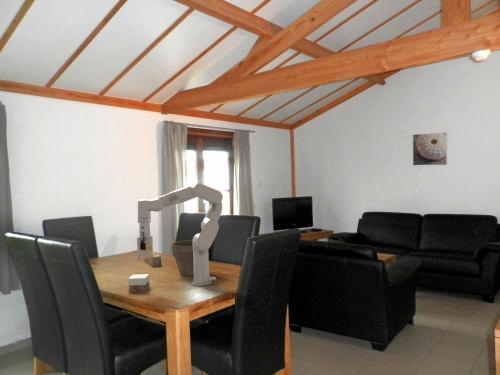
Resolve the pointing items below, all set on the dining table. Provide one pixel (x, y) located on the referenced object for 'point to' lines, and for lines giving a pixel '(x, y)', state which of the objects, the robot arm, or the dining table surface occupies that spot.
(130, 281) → the tower top block
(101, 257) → the dining table surface
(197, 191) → the robot arm
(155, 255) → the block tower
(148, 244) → the supplement box
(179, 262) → the plant pot
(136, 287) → the tower bottom block
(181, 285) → the dining table surface
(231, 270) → the dining table surface
